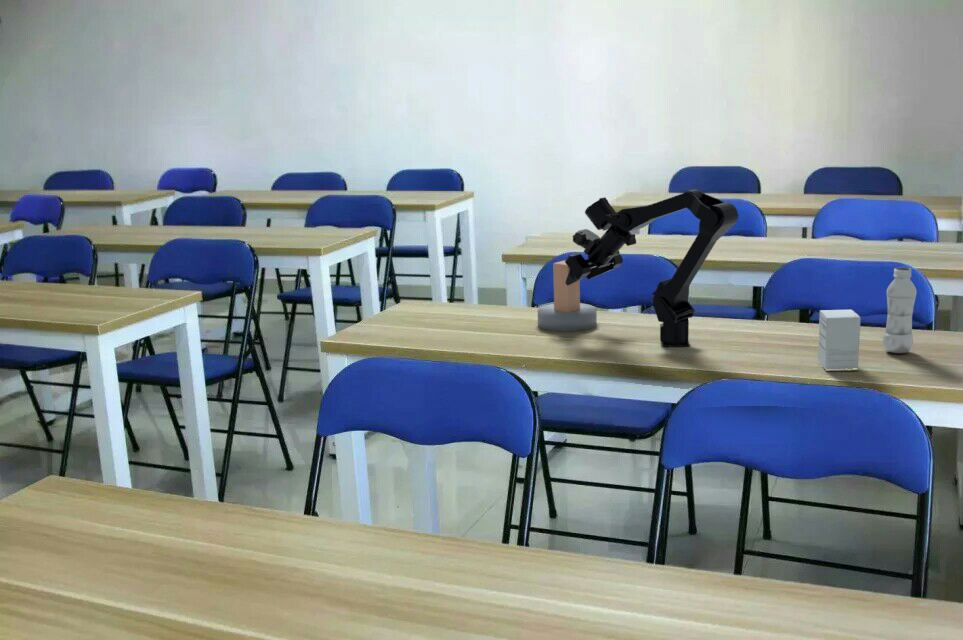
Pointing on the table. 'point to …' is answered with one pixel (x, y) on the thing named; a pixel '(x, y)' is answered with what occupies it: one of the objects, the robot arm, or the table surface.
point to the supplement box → (839, 339)
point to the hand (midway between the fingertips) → (577, 281)
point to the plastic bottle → (900, 312)
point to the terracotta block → (565, 289)
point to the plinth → (567, 318)
